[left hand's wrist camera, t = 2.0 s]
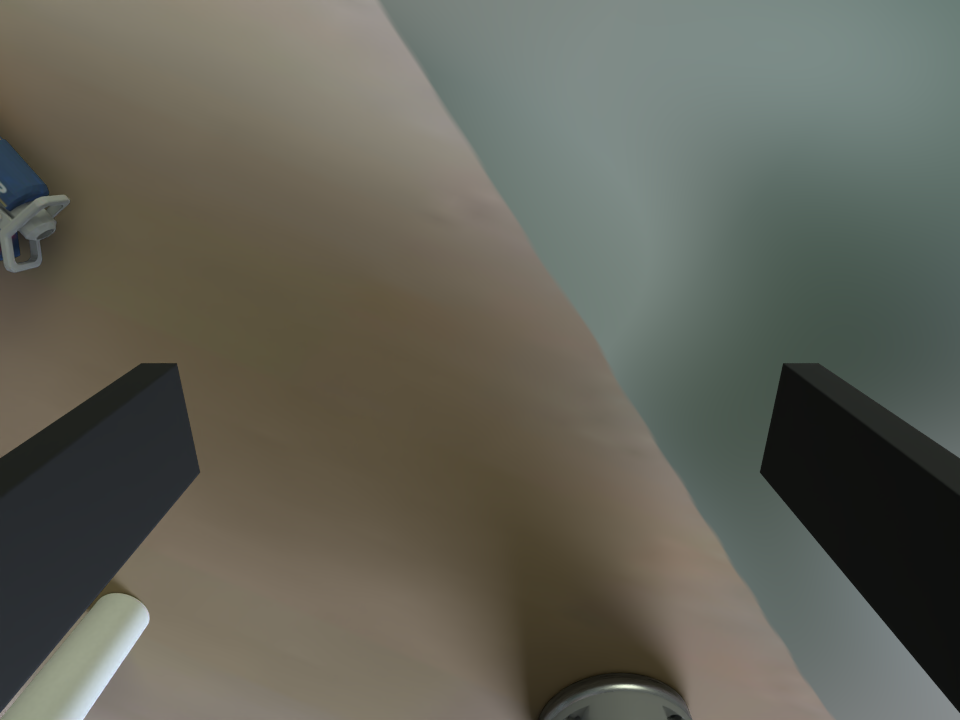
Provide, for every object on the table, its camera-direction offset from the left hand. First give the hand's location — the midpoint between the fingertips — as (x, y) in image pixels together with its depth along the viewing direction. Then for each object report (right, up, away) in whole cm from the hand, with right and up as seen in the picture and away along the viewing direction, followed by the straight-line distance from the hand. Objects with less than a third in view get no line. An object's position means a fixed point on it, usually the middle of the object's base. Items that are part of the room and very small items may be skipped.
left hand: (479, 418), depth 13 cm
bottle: (-32, -22, +39) cm, 55 cm away
